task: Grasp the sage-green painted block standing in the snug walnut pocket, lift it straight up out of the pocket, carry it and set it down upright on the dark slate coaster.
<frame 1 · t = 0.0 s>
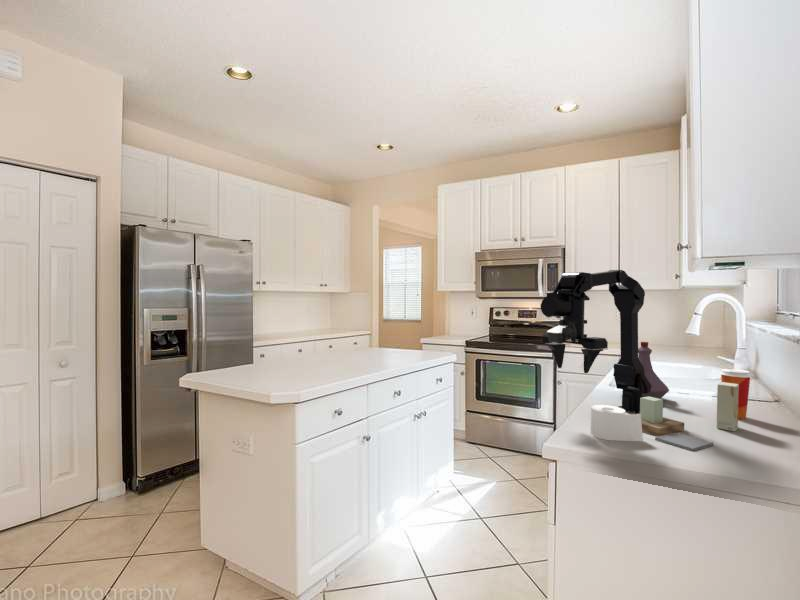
hand: (572, 370, 129), 15 cm above the counter, tool pointing down, fingers open, 9 cm apart
paper cup: (734, 417, 136), on the counter
coaster: (683, 442, 112), on the counter
green block: (651, 413, 124), in the pocket block
toilet paper: (614, 438, 116), on the counter
skincare box: (727, 428, 125), on the counter
pocket block: (650, 427, 124), on the counter
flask: (643, 399, 159), on the counter
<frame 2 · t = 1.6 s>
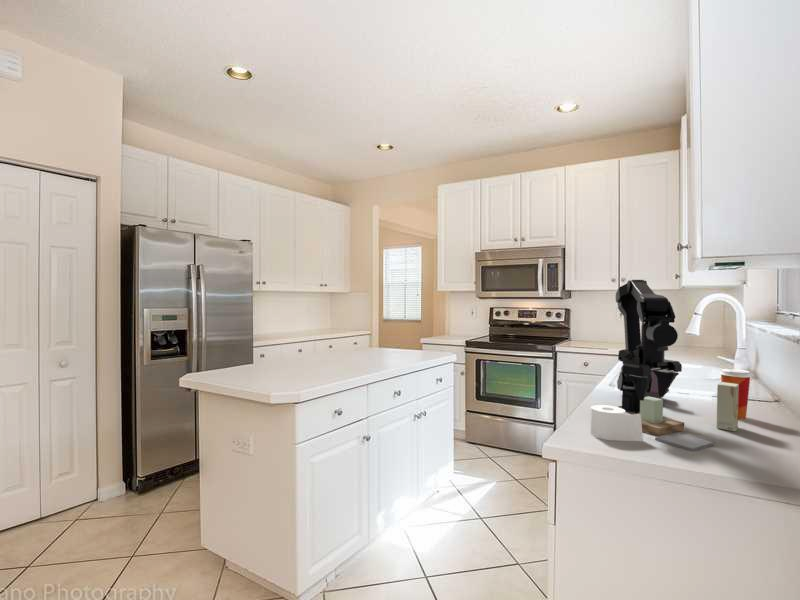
hand: (651, 398, 124), 8 cm above the counter, tool pointing down, fingers open, 9 cm apart
nothing on the counter moved.
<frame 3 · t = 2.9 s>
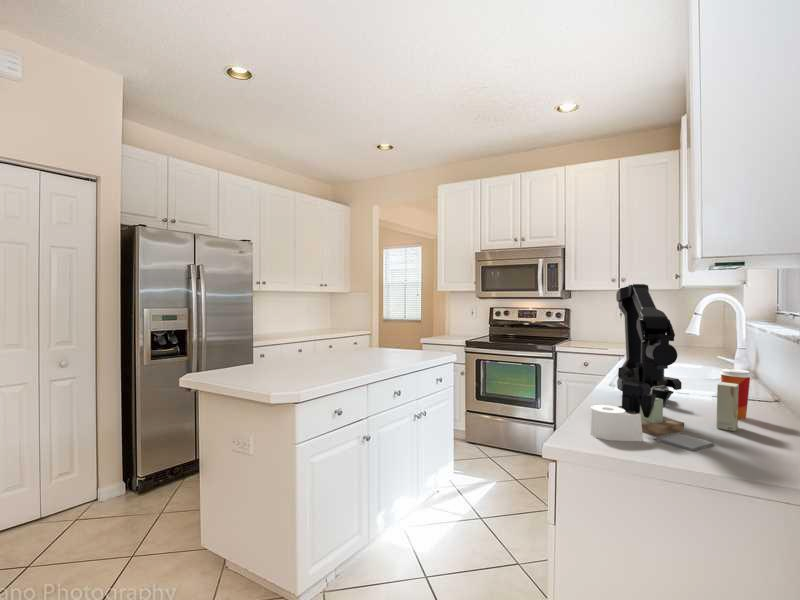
hand: (651, 416, 124), 3 cm above the counter, tool pointing down, fingers closed on green block, 4 cm apart
green block: (651, 412, 124), in the pocket block, touching gripper
everything else where it was.
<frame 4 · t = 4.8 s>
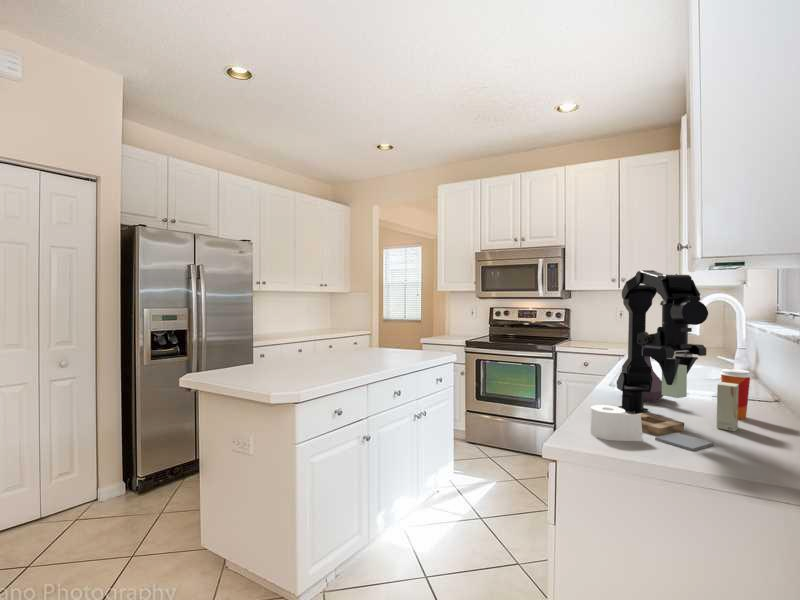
hand: (674, 384, 115), 14 cm above the counter, tool pointing down, fingers closed on green block, 4 cm apart
green block: (674, 380, 115), point 15 cm above the counter, touching gripper
everything else where it was.
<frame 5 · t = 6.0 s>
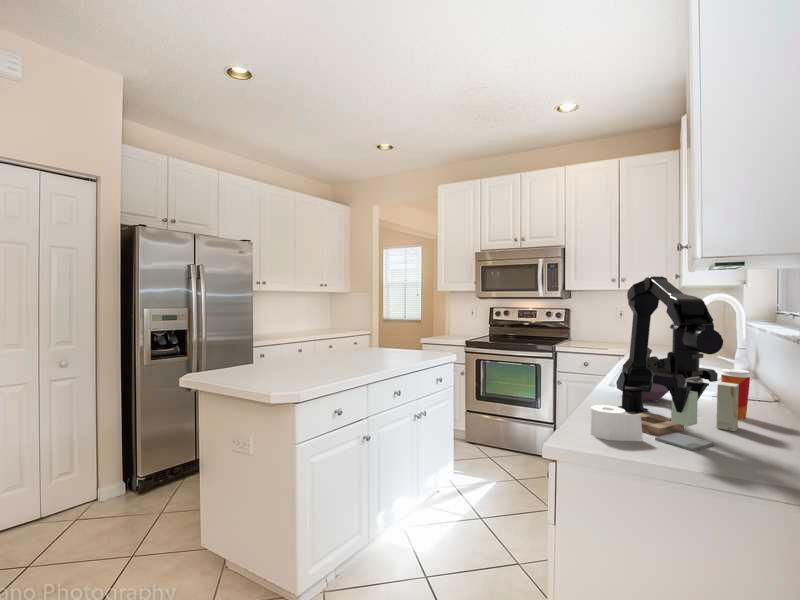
hand: (684, 411, 112), 8 cm above the counter, tool pointing down, fingers closed on green block, 4 cm apart
green block: (684, 407, 112), point 9 cm above the counter, touching gripper
everything else where it was.
when the fingers open (5 cm above the counter, at t = 6.8 s): green block drops 1 cm, resting on coaster.
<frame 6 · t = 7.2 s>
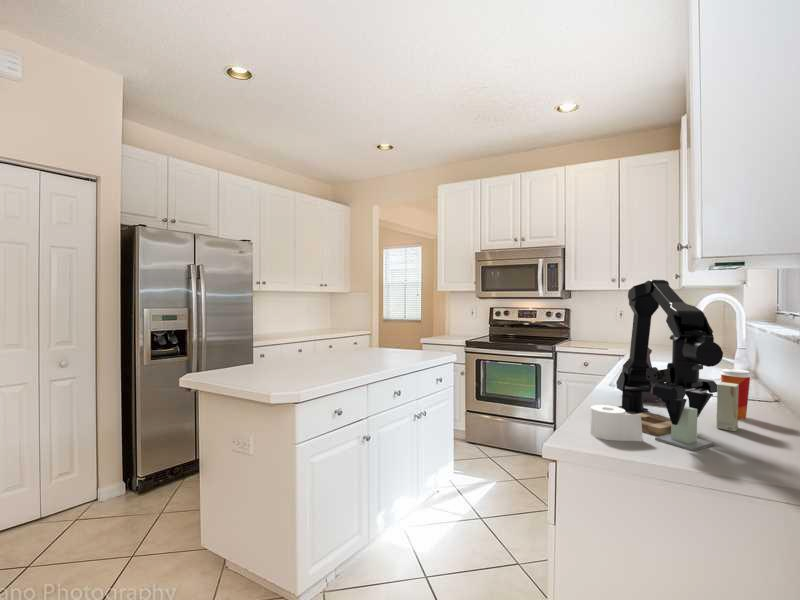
hand: (684, 422, 112), 5 cm above the counter, tool pointing down, fingers open, 8 cm apart
green block: (684, 424, 112), on the coaster, point 5 cm above the counter
everything else where it was.
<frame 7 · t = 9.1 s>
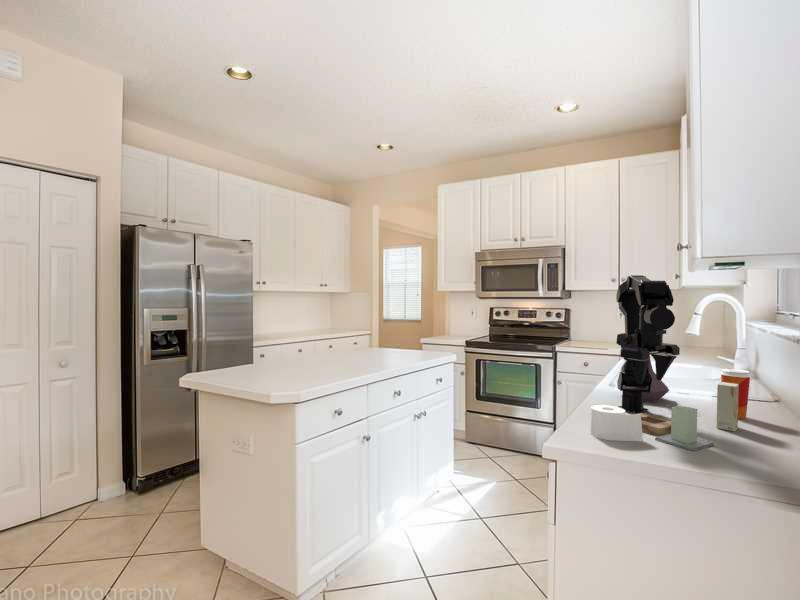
hand: (649, 381, 125), 12 cm above the counter, tool pointing down, fingers open, 9 cm apart
nothing on the counter moved.
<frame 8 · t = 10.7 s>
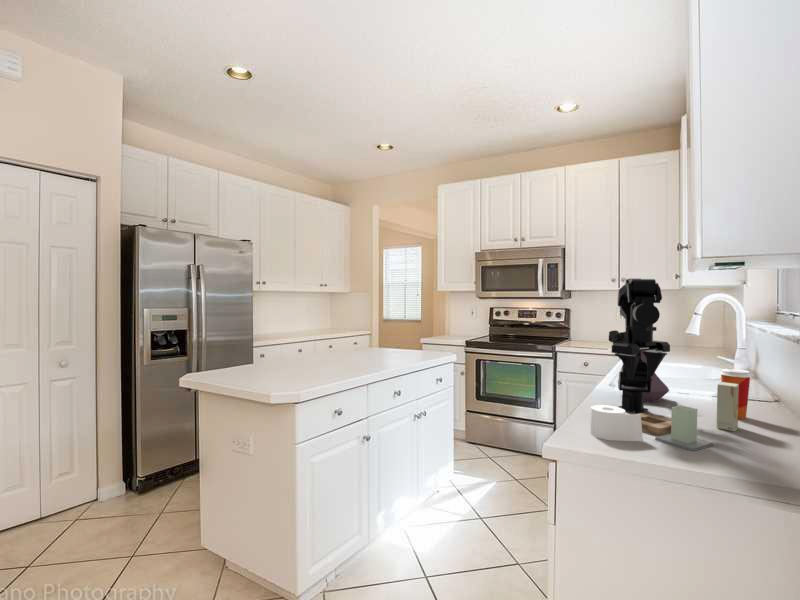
hand: (640, 377, 128), 13 cm above the counter, tool pointing down, fingers open, 9 cm apart
nothing on the counter moved.
at the end: green block inside the target area on the coaster (0.0 cm from its centre), point 4.6 cm above the coaster's base; green block tilted 0°; the gripper is holding nothing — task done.
